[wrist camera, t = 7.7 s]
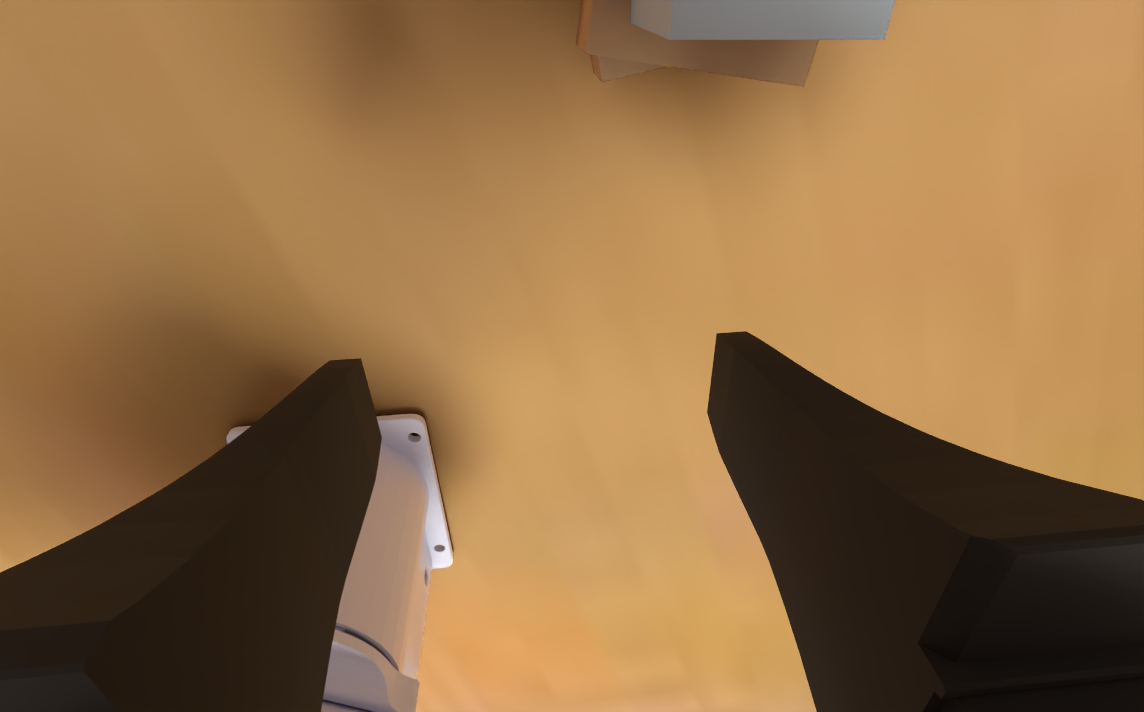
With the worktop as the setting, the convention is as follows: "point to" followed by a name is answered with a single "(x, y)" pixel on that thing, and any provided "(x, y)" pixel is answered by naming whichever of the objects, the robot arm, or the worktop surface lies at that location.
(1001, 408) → the worktop surface
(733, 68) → the slab top
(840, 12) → the gray cube
